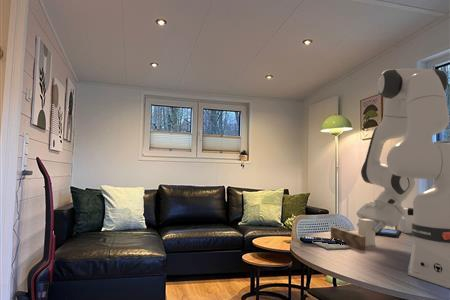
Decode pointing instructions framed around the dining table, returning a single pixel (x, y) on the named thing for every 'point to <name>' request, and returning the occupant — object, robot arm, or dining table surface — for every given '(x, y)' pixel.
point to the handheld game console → (388, 232)
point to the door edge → (348, 237)
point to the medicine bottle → (406, 221)
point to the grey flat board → (331, 246)
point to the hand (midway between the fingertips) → (366, 228)
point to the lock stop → (367, 230)
